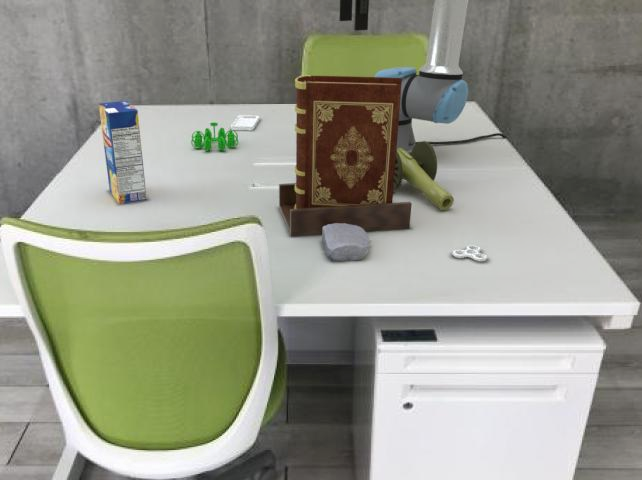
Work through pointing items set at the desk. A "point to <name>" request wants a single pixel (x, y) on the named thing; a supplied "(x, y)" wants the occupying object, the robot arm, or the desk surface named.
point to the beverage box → (123, 151)
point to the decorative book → (346, 140)
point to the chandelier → (214, 139)
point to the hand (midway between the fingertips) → (353, 25)
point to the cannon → (421, 173)
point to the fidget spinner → (470, 253)
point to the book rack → (341, 215)
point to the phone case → (245, 123)
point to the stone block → (345, 242)
